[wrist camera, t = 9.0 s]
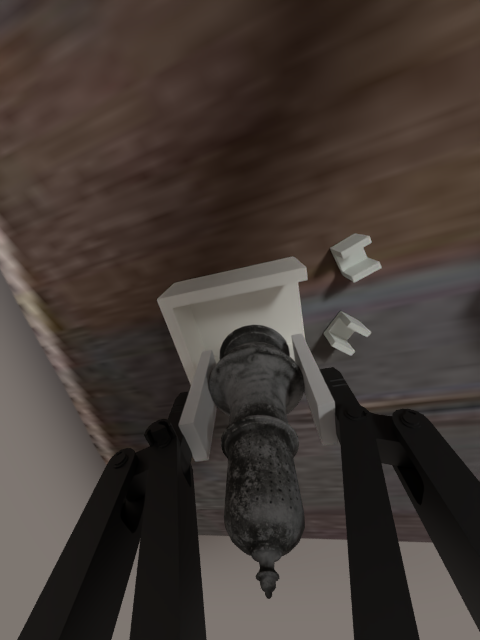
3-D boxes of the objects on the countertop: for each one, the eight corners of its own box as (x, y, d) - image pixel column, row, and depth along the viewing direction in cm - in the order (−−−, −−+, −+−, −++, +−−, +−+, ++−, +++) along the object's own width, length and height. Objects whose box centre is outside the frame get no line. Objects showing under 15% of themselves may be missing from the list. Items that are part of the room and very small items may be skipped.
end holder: (174, 282, 23) (156, 299, 18) (293, 256, 22) (306, 267, 17) (202, 363, 27) (194, 393, 22) (304, 345, 26) (317, 373, 21)
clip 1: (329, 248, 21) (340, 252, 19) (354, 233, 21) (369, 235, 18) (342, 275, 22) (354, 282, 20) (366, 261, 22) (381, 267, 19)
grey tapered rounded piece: (268, 305, 16) (321, 517, 5) (307, 366, 17) (409, 615, 7) (199, 345, 17) (116, 579, 6) (242, 397, 19) (238, 644, 8)
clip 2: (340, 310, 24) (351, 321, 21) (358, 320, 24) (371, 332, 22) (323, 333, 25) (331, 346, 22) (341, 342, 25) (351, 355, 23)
